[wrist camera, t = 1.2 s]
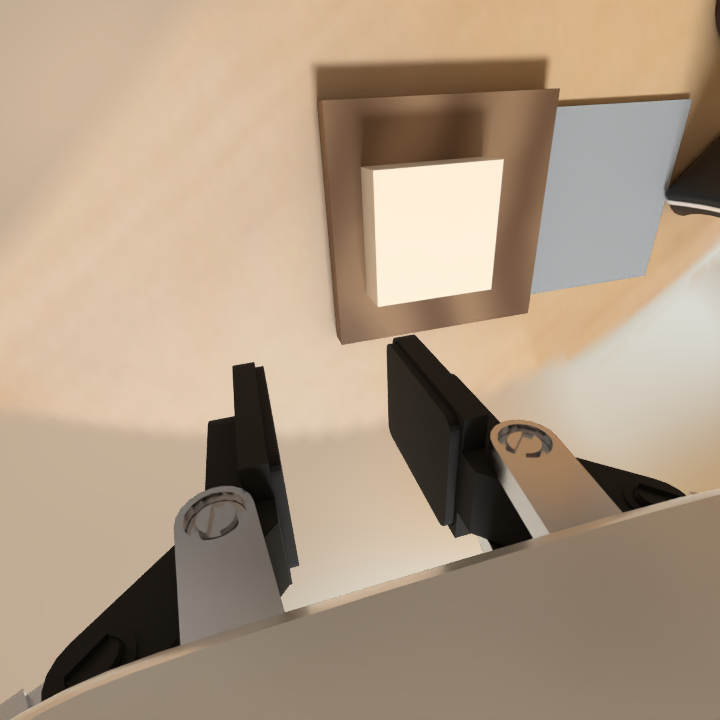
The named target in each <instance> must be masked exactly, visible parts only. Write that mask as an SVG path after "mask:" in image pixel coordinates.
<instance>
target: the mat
mask: <svg viewBox="0 0 720 720" xmlns="http://www.w3.org/2000/svg"><path fill="white" fill-rule="evenodd" d="M691 103H692V99H683V100H666V101H649V102H633V103H616V104H599V105H582V106H566V107H557V112H556V119H555V126H554V133H553V140H552V147H551V154H550V161H549V168H548V175H547V182H546V189H545V196H544V203H543V210H542V217H541V224H540V231H539V238H538V245H537V252H536V259H535V266H534V273H533V280H532V287H531V294H535V293H541V292H547V291H554V290H560V289H566V288H572V287H578V286H585V285H591V284H597V283H603V282H609V281H615V280H622V279H628V278H634V277H640V276H645V273H646V269H647V266H648V262H649V258H650V255H651V251H652V247H653V244H654V240H655V236H656V232H657V229H658V225H659V221H660V218H661V214H662V210H663V206H664V203H665V199H666V192H667V191H668V188H669V184H670V181H671V177H672V173H673V169H674V166H675V162H676V158H677V155H678V151H679V147H680V143H681V140H682V136H683V132H684V129H685V125H686V121H687V118H688V114H689V110H690V106H691Z"/></svg>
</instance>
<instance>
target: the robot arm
mask: <svg viewBox="0 0 720 720" xmlns="http://www.w3.org/2000/svg"><path fill="white" fill-rule="evenodd" d="M232 368H233V389H234V410H235V416H233V417H228V418H223V419H218V420H213V421H209V422H208V436H207V459H206V482H205V491H204V492H201V493H199V494H197V495H196V496H194V497H193V498H192V499H190V500H189V501H188V502H187V503H186V504H185V505H184V506H183V507H182V508H181V509H180V511H179V513H178V515H177V517H176V518H175V524H174V540H175V545H174V546H173V547H172V548H171V549H170V550H169V551H168V552H167V553H166V554H165V555H164V556H163V557H161V558H160V559H159V560H158V561H157V562H156V563H155V564H154V565H153V566H152V567H151V568H150V569H149V570H148V571H146V572H145V573H144V575H142V576H141V577H140V578H139V579H138V580H137V581H136V582H135V583H134V584H133V585H132V586H131V587H130V588H128V589H127V590H126V591H125V592H124V593H123V594H122V595H121V596H120V597H119V598H118V599H117V600H116V601H115V602H114V603H113V604H111V605H110V606H109V607H108V608H107V609H106V610H105V611H104V612H103V613H102V614H101V615H100V616H99V617H98V618H97V619H95V620H94V622H93V623H91V624H90V625H89V626H88V627H87V628H86V629H85V630H84V631H83V632H82V633H81V634H80V635H78V637H76V638H75V639H74V640H73V641H72V642H71V643H70V644H69V645H68V646H67V647H66V648H65V650H64V651H63V652H62V653H61V654H60V655H59V656H58V658H57V659H56V660H55V662H54V664H53V665H52V667H51V669H50V670H49V672H48V674H47V676H46V679H45V682H44V683H43V684H42V685H40V686H39V687H37V688H36V689H35V690H33V691H32V692H30V693H29V694H28V695H27V693H26V692H25V691H24V690H23V689H22V690H20V691H19V692H18V693H16V694H15V695H13V696H12V697H11V698H9V699H8V700H6V701H5V702H4V703H2V704H1V705H0V720H720V489H715V490H711V491H707V492H702V493H695V492H689V494H688V496H686V495H685V494H684V493H682V492H681V491H680V490H678V489H676V488H675V487H673V486H671V485H669V484H667V483H665V482H662V481H659V480H656V479H653V478H649V477H646V476H642V475H638V474H635V473H631V472H628V471H624V470H620V469H616V468H612V467H609V466H605V465H602V464H598V463H594V462H591V461H587V460H583V459H580V458H576V457H574V456H573V454H572V453H571V452H570V451H569V450H568V449H567V447H566V446H565V445H564V444H563V443H562V442H561V440H560V439H559V438H558V437H557V436H556V435H555V434H554V433H553V432H552V431H551V430H549V429H548V428H546V427H544V426H542V425H540V424H537V423H534V422H531V421H524V420H509V421H505V422H501V423H500V422H499V421H498V420H497V419H496V418H495V417H494V415H493V414H492V413H491V412H490V411H489V410H488V409H487V408H486V407H485V406H484V405H483V404H482V403H481V402H480V401H479V400H478V398H477V397H476V396H475V395H474V394H473V393H472V392H471V391H470V390H469V389H468V388H467V387H466V386H465V385H464V384H463V383H462V381H461V380H460V379H459V378H458V377H457V376H455V375H454V374H451V373H450V372H449V371H448V370H447V369H446V368H445V367H444V366H443V365H442V364H441V362H440V361H439V360H438V359H437V358H436V357H435V356H434V355H433V354H432V353H431V352H430V351H429V350H428V348H427V347H426V346H425V345H424V344H423V343H422V342H421V341H420V340H419V339H418V338H417V337H416V336H415V335H409V336H403V337H397V338H394V339H393V344H388V345H387V378H388V418H389V429H390V433H391V435H392V438H393V439H394V441H395V443H396V445H397V447H398V448H399V450H400V452H401V454H402V455H403V458H404V459H405V461H406V463H407V465H408V467H409V468H410V470H411V472H412V474H413V476H414V477H415V479H416V481H417V483H418V485H419V487H420V488H421V490H422V492H423V494H424V496H425V498H426V499H427V501H428V503H429V505H430V507H431V508H432V510H433V512H434V514H435V516H436V517H437V519H438V521H439V523H440V524H441V525H442V526H445V525H448V526H449V528H450V530H451V532H452V533H453V535H454V537H455V538H457V537H460V536H464V535H467V534H471V533H472V534H475V535H477V536H479V542H480V546H481V548H482V550H483V552H484V553H482V554H480V555H476V556H473V557H469V558H466V559H462V560H459V561H455V562H452V563H449V564H446V565H442V566H439V567H435V568H432V569H428V570H425V571H422V572H418V573H415V574H412V575H408V576H405V577H401V578H398V579H395V580H391V581H388V582H385V583H381V584H378V585H375V586H371V587H368V588H365V589H361V590H358V591H355V592H351V593H348V594H345V595H342V596H338V597H335V598H332V599H329V600H325V601H322V602H318V603H315V604H312V605H308V606H305V607H302V608H298V609H295V610H292V611H288V612H284V608H283V604H282V601H281V596H282V594H283V593H284V592H285V590H286V589H287V588H288V586H289V585H291V584H292V579H291V573H290V568H292V567H296V566H299V562H298V556H297V550H296V545H295V539H294V534H293V528H292V523H291V517H290V511H289V505H288V500H287V494H286V489H285V483H284V478H283V472H282V466H281V461H280V455H279V449H278V444H277V438H276V433H275V427H274V422H273V416H272V411H271V405H270V400H269V394H268V389H267V383H266V378H265V372H264V367H263V366H261V367H256V368H255V364H254V362H252V363H247V364H241V365H235V366H233V367H232Z"/></svg>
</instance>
